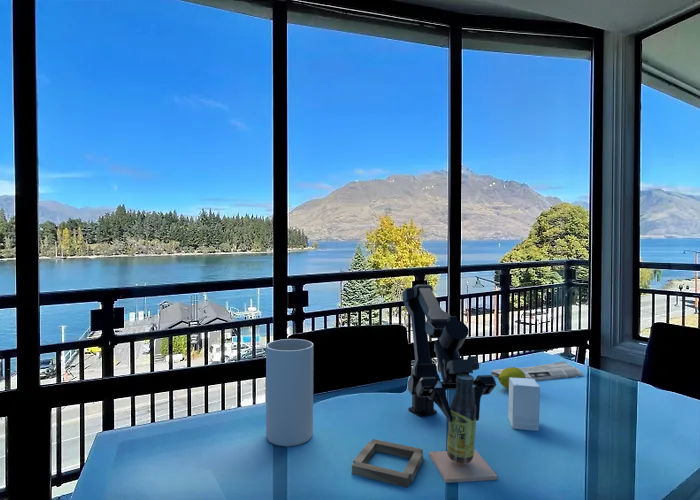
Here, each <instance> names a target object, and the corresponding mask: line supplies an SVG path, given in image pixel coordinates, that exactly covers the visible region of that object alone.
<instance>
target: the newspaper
mask: <svg viewBox="0 0 700 500" xmlns="http://www.w3.org/2000/svg"><path fill="white" fill-rule="evenodd" d="M518 368H519V369H520V370H522V371H523V372H524V374H525V376H526V378H528V379H535V381H536V382H540V381H552V380H560V379H561V378H563V379H570V378H569V377H573V378H577V377H576V376H582V377H583V373H582V371H581V370H580V369H579V368H577V367H576V366H572V365H570V364H569V363H567V361H565V360H563V361H557V362H551V363H545V364H539V365H534V366H526V367H518ZM504 369H505V368H497V369H491V372H490V373H491V374H490V375H491V376H493V377H497V378H498V377H499V375H500V373H501V372H502V371H503V370H504Z"/></svg>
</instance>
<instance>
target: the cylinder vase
mask: <svg viewBox="0 0 700 500" xmlns="http://www.w3.org/2000/svg"><path fill="white" fill-rule="evenodd" d="M265 349H266V350H265V352H266V354H265V358H266V359H265V361H266V364H265V369H266V371H265V372H266V373H265V376H266V377H265V379H266V380H265V382H266V383H265V384H266V385H265V386H266V387H265V396H266V397H265V399H266V400H265V412H266V413H265V415H266V416H265V431H266V432H265V436H266V439H267V441H268V442H269V443H271V444H273V445H275V446H279V447H295V446H299V445H302V444H304V443H306V442H308V441H310V439H311V438H312V436H313V434H314V343H313V342H312V341H309V340H307V339H299V338H285V339H278V340H272V341H270V342H268V343H266V347H265Z"/></svg>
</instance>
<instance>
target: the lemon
mask: <svg viewBox="0 0 700 500" xmlns="http://www.w3.org/2000/svg"><path fill="white" fill-rule="evenodd" d="M519 368H520V367H515V366H514V367H512V366H510V367H506V368H503V369H504V370H503V371H502V372H501V373H500V375H499V376H497V379H498V381H499V382H498V383H500V385H501V386H502V387H503V388H505V389H506V390H508V391H509V378H526V376H525V374H524V372H523V371H522V370H520V369H519Z"/></svg>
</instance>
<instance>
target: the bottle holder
mask: <svg viewBox="0 0 700 500" xmlns="http://www.w3.org/2000/svg"><path fill="white" fill-rule="evenodd" d="M376 452H377V453H382V454H386V455H387V454H388V455H392V456H397V457H399V458H405V459H409V461H408V463H407V465H406V466H405V468H404V470H403V471H399V470H395V469H391V468H386V467H383V466H377V465H374V464H369V463H368V462H369V461H370V460H371V458H372V457H373V455H374V454H375V453H376ZM423 452H424V451H423V448H419V447H414V446H409V445H405V444H400V443H394V442H392V441H391V442H390V441H385V440H381V439H375V438H373V439H372V440H371V441H368V442H367V443H366V444H365V446H364V447H363V448H362V449H361V451H360V452H358V454H357V455H356V456H355V458H354V459H353V460H352V464H351V475H355V476H358V477H363V478H367V479H371V480H375V481H379V482H383V483H386V484H387V483H388V484H392V485H396V486H399V487H403V488H408V487H409V484H413V481H414V479H415V478H416V475H417V473H418V471H419V469H420V468H421V465H422V463H423V456H424V455H423Z"/></svg>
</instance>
